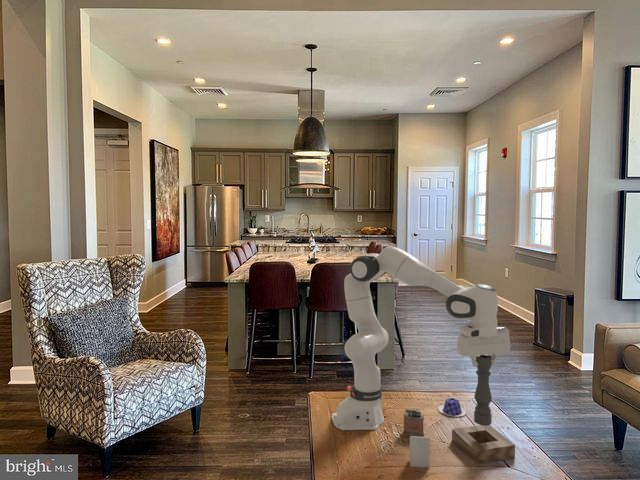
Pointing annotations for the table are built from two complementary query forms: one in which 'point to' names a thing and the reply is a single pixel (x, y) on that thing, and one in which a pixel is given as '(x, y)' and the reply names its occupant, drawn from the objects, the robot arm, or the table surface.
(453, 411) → the pudding
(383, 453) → the table surface
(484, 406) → the candle holder
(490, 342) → the robot arm
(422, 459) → the tea bag
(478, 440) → the walnut collar
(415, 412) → the lighter
